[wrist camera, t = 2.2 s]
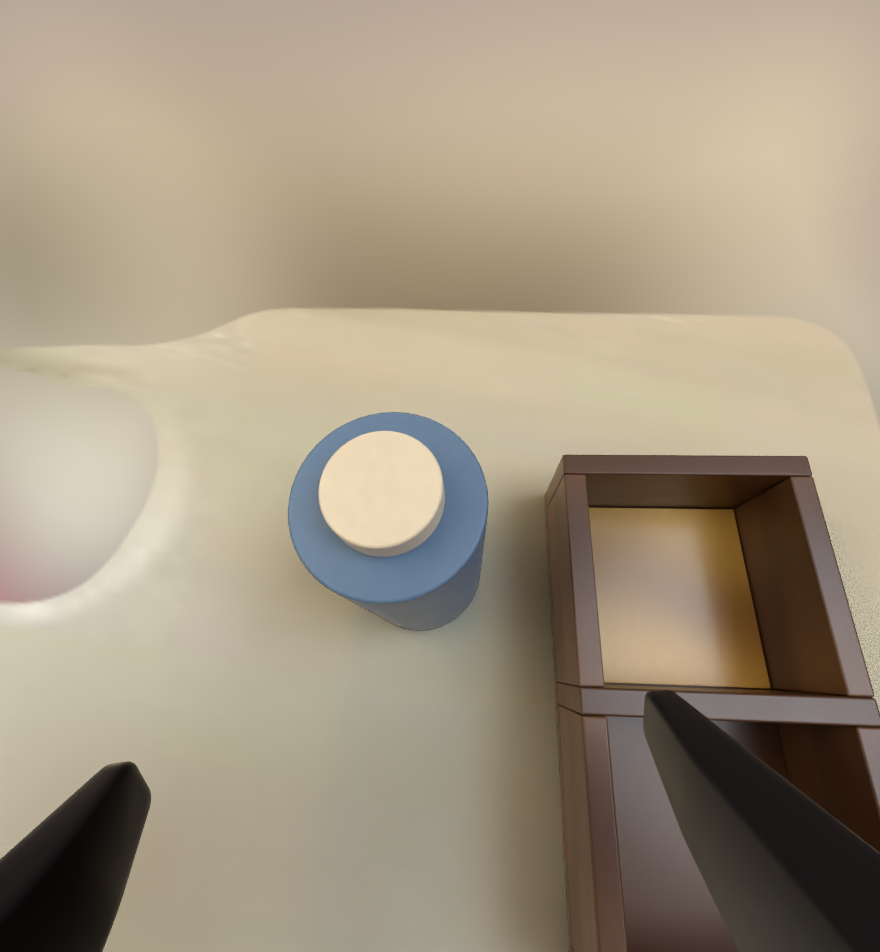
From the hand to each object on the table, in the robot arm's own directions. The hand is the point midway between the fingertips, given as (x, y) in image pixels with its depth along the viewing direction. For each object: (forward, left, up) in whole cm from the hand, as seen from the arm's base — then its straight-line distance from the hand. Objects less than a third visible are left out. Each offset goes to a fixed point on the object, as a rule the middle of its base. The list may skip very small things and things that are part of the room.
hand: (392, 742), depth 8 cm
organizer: (0, -9, -11) cm, 15 cm away
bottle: (+5, +1, -11) cm, 13 cm away
